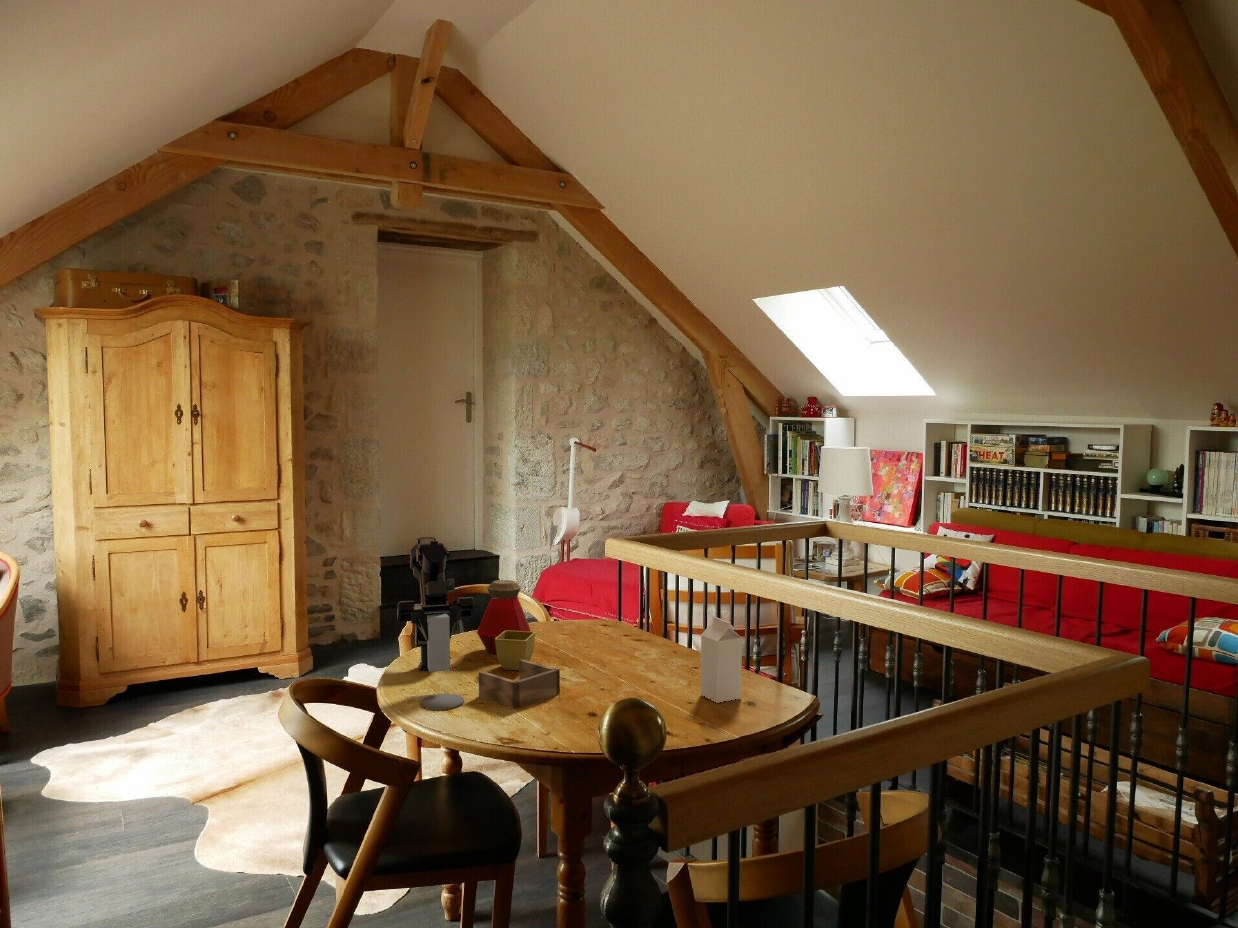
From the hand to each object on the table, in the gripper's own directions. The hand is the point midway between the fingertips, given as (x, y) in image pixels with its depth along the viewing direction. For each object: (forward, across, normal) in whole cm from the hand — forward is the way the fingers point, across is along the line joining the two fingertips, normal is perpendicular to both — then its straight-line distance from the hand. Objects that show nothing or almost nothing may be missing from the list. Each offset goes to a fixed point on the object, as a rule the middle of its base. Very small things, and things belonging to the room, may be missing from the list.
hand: (438, 638), depth 220 cm
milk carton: (+26, +65, -7) cm, 70 cm away
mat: (+15, 0, +4) cm, 16 cm away
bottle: (-13, +21, +32) cm, 41 cm away
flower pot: (-1, +22, +20) cm, 29 cm away
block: (+5, 0, +6) cm, 8 cm away
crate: (+14, +18, +4) cm, 24 cm away
